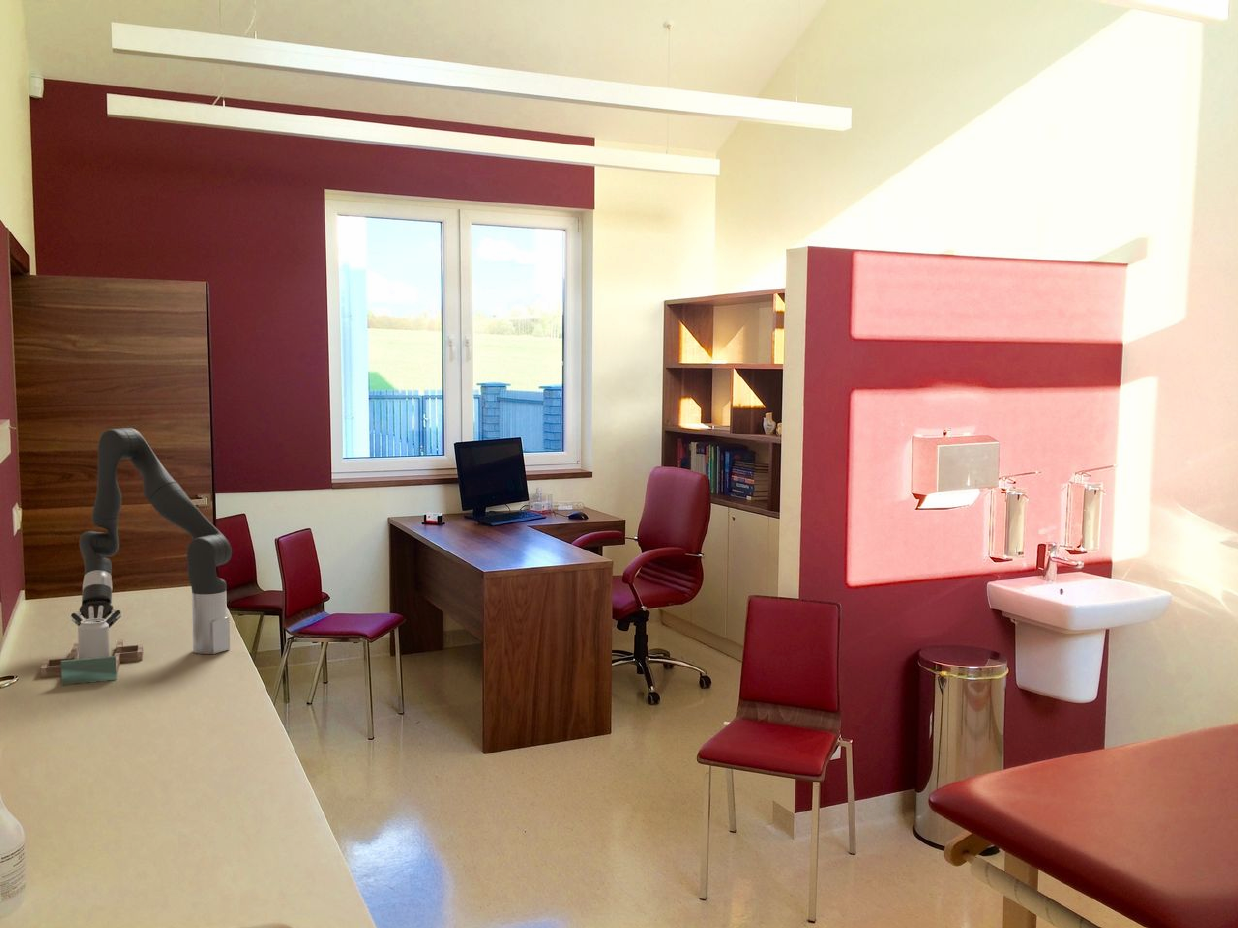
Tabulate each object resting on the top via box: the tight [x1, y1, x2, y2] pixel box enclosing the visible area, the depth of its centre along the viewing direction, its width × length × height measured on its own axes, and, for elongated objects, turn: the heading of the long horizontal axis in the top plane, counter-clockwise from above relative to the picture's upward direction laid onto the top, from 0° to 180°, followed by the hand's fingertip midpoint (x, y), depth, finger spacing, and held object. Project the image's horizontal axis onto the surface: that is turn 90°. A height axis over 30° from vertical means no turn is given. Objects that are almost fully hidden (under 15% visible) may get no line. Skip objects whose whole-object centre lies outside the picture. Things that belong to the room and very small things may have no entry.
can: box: [77, 618, 111, 659], centre depth 273 cm, size 8×8×12 cm
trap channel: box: [40, 638, 144, 686], centre depth 271 cm, size 35×24×6 cm
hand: (95, 642), depth 277 cm, fingers closed
